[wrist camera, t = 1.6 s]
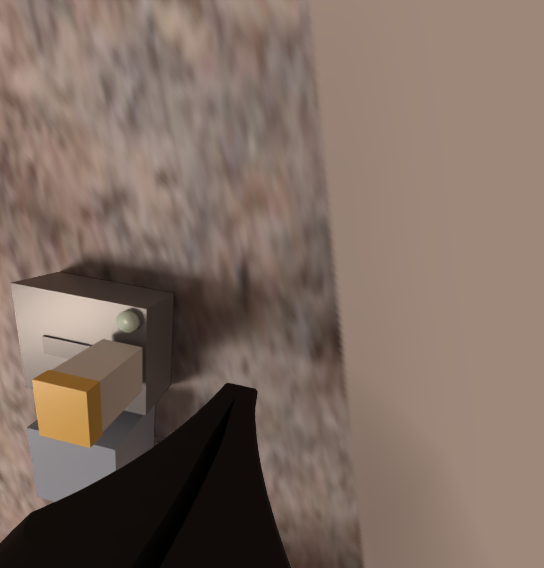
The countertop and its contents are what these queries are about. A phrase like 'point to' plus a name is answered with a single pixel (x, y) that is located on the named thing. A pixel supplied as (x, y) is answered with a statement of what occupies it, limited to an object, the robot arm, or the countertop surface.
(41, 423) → the handle
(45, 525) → the robot arm
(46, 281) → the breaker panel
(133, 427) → the cap
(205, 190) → the countertop surface
